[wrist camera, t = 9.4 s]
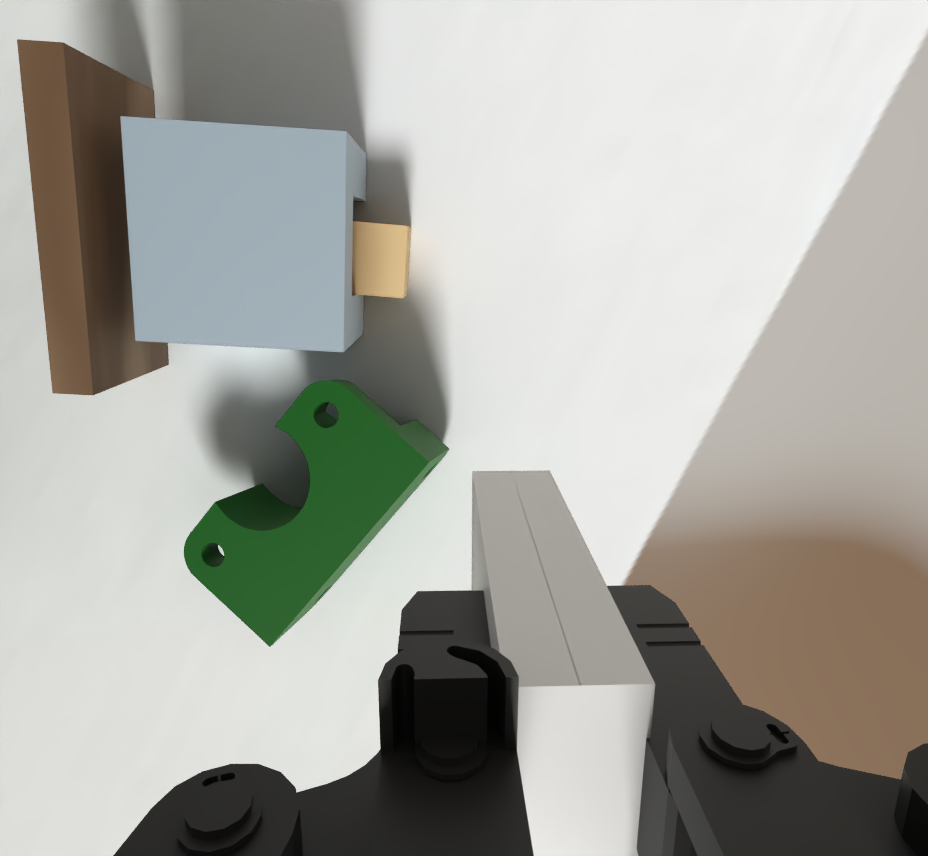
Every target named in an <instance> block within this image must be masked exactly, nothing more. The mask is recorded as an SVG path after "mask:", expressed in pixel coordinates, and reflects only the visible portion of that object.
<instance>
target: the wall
mask: <svg viewBox="0 0 928 856" xmlns="http://www.w3.org/2000/svg"><path fill="white" fill-rule="evenodd" d="M17 43H18V53H19V63H20V73H21V83H22V93H23V103H24V112H25V122H26V132H27V142H28V152H29V162H30V172H31V182H32V192H33V202H34V212H35V222H36V232H37V242H38V251H39V261H40V271H41V281H42V291H43V301H44V311H45V321H46V331H47V341H48V351H49V361H50V371H51V381H52V391H53V393H59V394H79V395H95V394H97V393H100V392H102V391H105V390H107V389H110V388H112V387H115V386H117V385H120V384H122V383H125V382H127V381H130V380H132V379H134V378H137V377H139V376H142V375H144V374H147V373H149V372H152V371H154V370H157V369H159V368H162V367H164V366H167V365H168V346H167V343H164V342H146V341H135V327H134V312H133V297H132V282H131V267H130V252H129V237H128V222H127V207H126V192H125V178H124V163H123V148H122V133H121V118H120V116H125V117H140V118H155V110H154V92H153V91H152V90H151V89H149V88H147V87H145V86H143V85H141V84H139V83H138V82H136V81H134V80H132V79H130V78H128V77H126V76H124V75H123V74H121V73H119V72H117V71H115V70H113V69H111V68H110V67H108V66H106V65H104V64H102V63H100V62H98V61H96V60H95V59H93V58H91V57H89V56H87V55H85V54H83V53H81V52H80V51H78V50H76V49H74V48H72V47H70V46H68V45H67V44H65V43H61V42H46V41H32V40H17Z"/></svg>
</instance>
